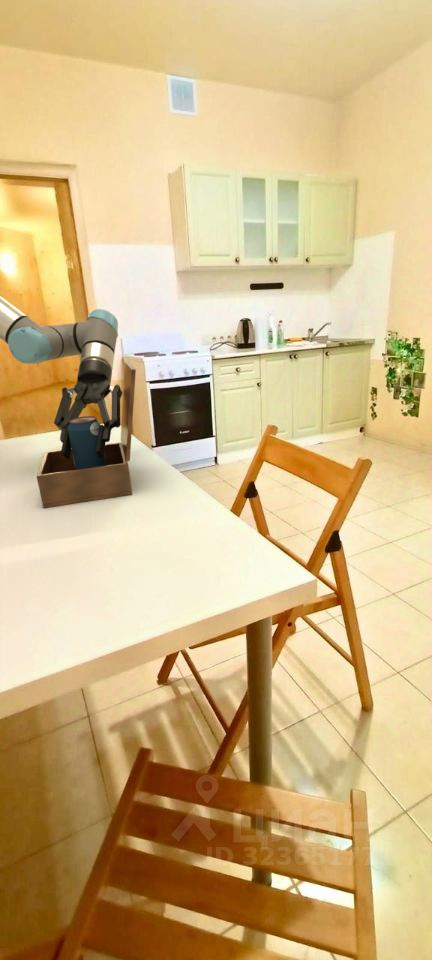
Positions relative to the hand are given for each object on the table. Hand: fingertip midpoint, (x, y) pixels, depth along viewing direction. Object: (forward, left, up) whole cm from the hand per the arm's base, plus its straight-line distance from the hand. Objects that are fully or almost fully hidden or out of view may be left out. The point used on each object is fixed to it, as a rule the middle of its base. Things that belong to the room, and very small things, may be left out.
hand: (82, 454), depth 96 cm
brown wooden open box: (0, 0, -7) cm, 7 cm away
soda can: (-3, +1, -5) cm, 6 cm away
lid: (0, +10, +9) cm, 14 cm away
